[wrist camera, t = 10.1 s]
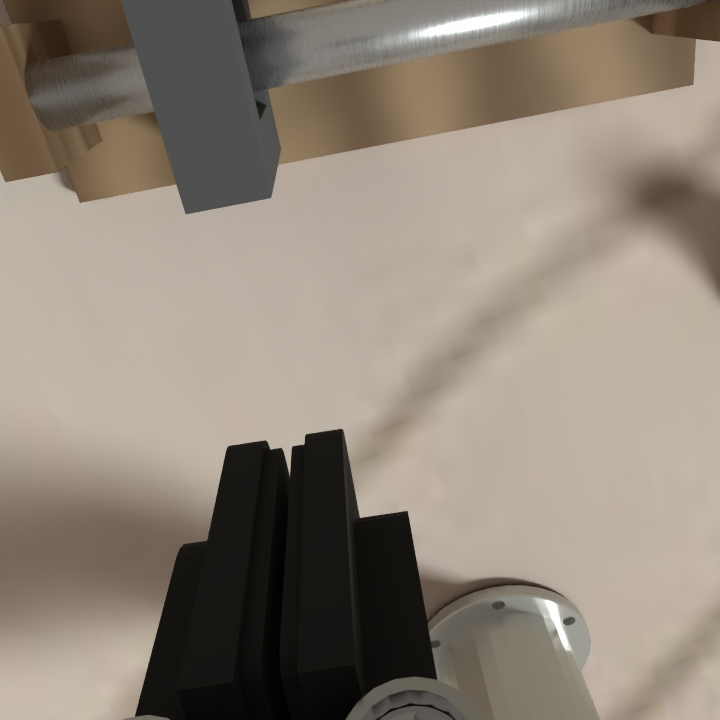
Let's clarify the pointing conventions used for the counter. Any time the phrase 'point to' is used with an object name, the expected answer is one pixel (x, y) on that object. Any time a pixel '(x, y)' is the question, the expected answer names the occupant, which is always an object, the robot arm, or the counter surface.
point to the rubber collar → (206, 100)
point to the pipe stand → (338, 89)
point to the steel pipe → (321, 47)
